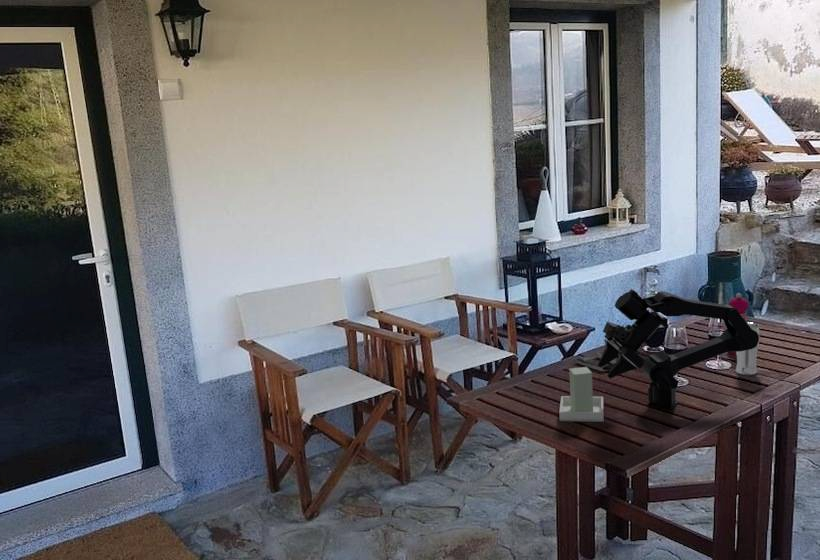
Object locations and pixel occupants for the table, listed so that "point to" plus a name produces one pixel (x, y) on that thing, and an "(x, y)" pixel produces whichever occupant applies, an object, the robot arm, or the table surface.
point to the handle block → (581, 389)
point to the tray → (569, 415)
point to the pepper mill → (739, 306)
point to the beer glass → (748, 357)
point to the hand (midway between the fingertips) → (603, 371)
